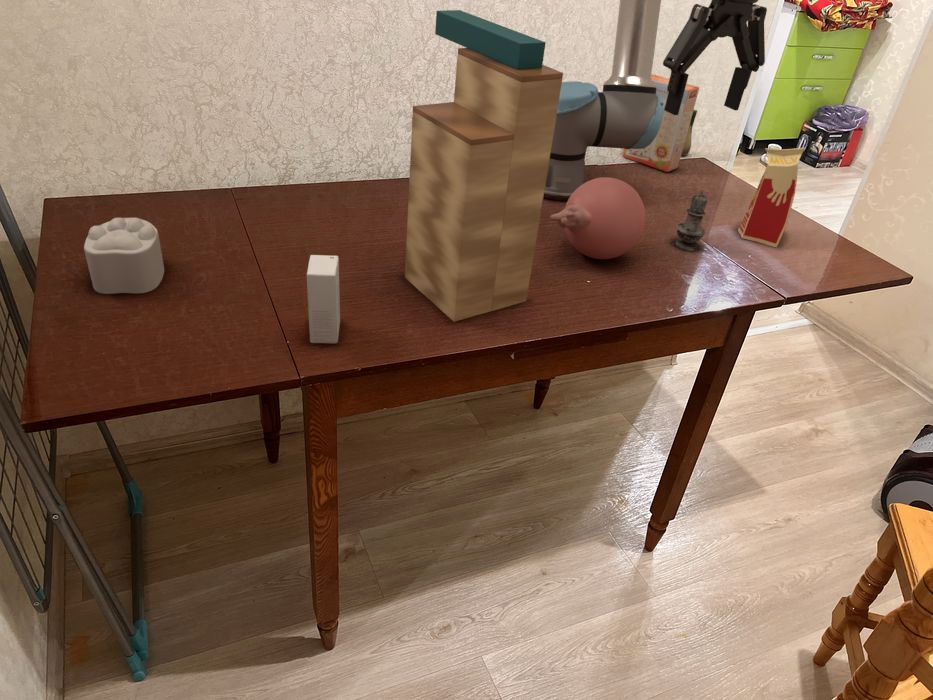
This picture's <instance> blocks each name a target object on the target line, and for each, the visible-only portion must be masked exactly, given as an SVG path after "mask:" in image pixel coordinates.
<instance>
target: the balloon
mask: <svg viewBox="0 0 933 700" xmlns="http://www.w3.org/2000/svg"><path fill="white" fill-rule="evenodd" d="M566 201H567V202H566V204H565V207H564V208H563V209H562V210H561V211H559V212H557V213H553V214H551V215H550V220H551V221H553V222H554V221H555V222H557V224H558V226H559V227H561V228H562V229H564V233H565V235H566V238H567V240H568V242H569V243H570V245H571V246H572V247H573V248H574V249H575V250H577V251H578V252H579V253H581V254H582V255H584V256H586V257H588V258H591V259H596V260H610V259H615V258H618V257H620V256H623V255H624V254H626V253H628V252H629V251H630V250H631V249H632V248H633V247H635V245H636V244H637V243H638V242H639V240H640V238H641V236H642V235H643V232H644V229H645V225H646V209H645V205H644V201H643V199H642V198H641V196H640V194H639V193H638V191H637V190H636V189H635V188H634V187H633V186H632V185H630V184H629V183H627V182H625V181H624V180H621V179H619V178H615V177H609V176H604V177H596V178H593V179H590V180H587V182H586V183H584V184H582V185H581V186H580V187H578V188H577V189H576V190H575V191H574V192H573V193H572V195H571V196H570V198H569V199H568V200H566Z"/></svg>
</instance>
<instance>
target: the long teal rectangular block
mask: <svg viewBox="0 0 933 700" xmlns="http://www.w3.org/2000/svg"><path fill="white" fill-rule="evenodd" d="M435 17H436V18H435V31H434V35H436V36H438V37H441V38H444V39H446V40H447V41H450V42H452V43H454V44H457V45H459V46H462V47H463V48H468V49H471V50H473V51H475V52H478V53H480V54H482V55H485V56H487V57H489V58H491V59H494V60H496V61H498V62H501V63H503V64H505V65H508V66H510V67H512V68H515V69H517V70H522V69H534V68H542V65H544V63H543V62H544V58H545V50H546V41H544V40H540V39H538V38H536V37H533V36H530V35H528V34H525V33H523V32H519V31H516V30H514V29H512V28H508V27H506V26H503V25H500V24H498V23H495V22H492V21H490V20H487V19H485V18H482V17H480V16H477V15H474V14H471V13H470V12H466V11H463V10H460V9H452V10H451V9H450V10H449V9H448V10H436V16H435Z"/></svg>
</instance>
